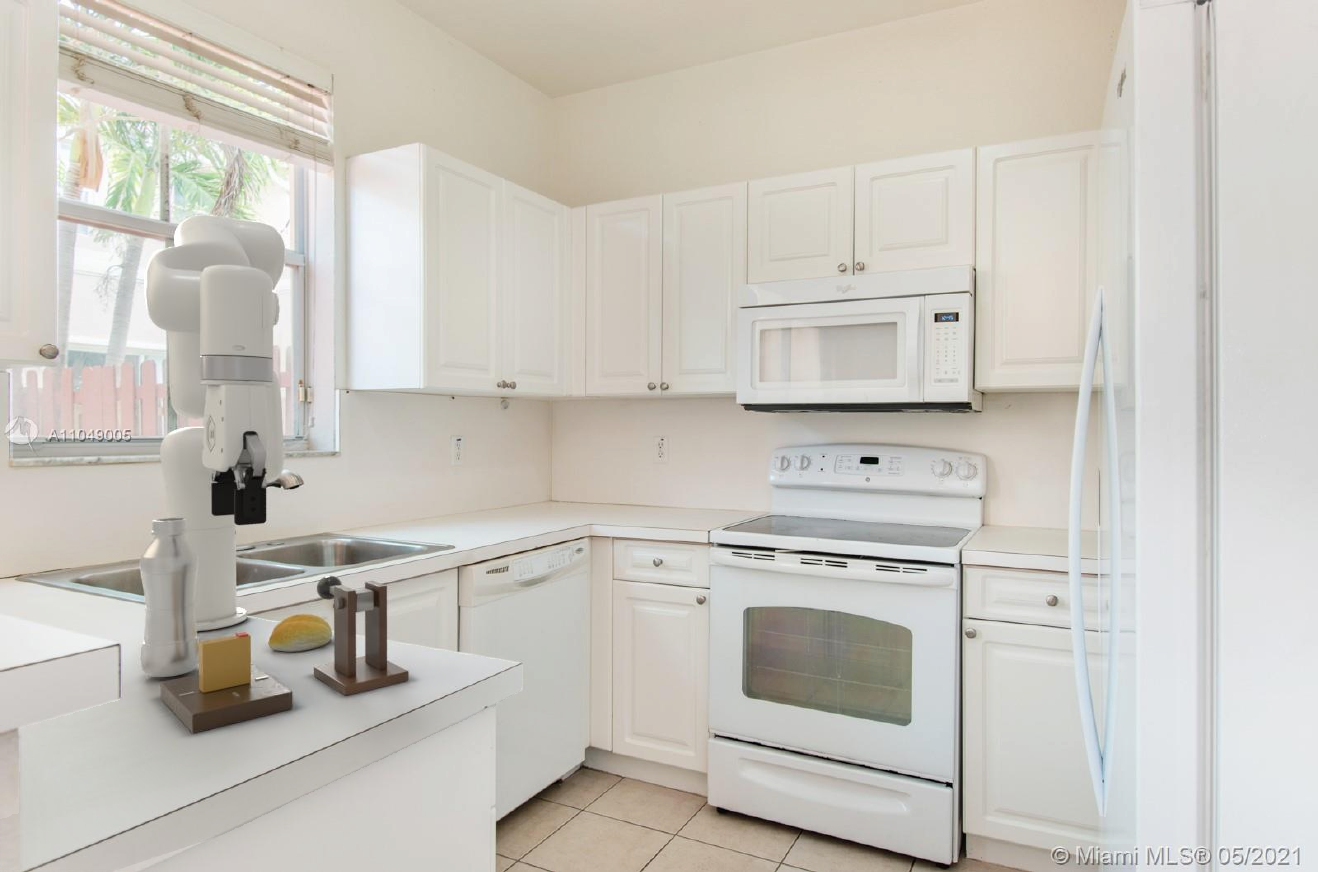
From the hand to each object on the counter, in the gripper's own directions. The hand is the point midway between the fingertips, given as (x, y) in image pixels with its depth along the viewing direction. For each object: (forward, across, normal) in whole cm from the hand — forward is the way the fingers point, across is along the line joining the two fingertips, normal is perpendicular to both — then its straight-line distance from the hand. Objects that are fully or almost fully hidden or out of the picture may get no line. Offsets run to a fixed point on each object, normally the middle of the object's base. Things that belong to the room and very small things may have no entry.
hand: (238, 519), depth 91 cm
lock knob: (+19, +2, -2) cm, 19 cm away
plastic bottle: (+22, -14, -4) cm, 26 cm away
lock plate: (+21, +2, -2) cm, 21 cm away
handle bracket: (+21, +3, +13) cm, 25 cm away
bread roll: (+22, -18, +13) cm, 31 cm away
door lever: (+13, -2, +13) cm, 18 cm away
